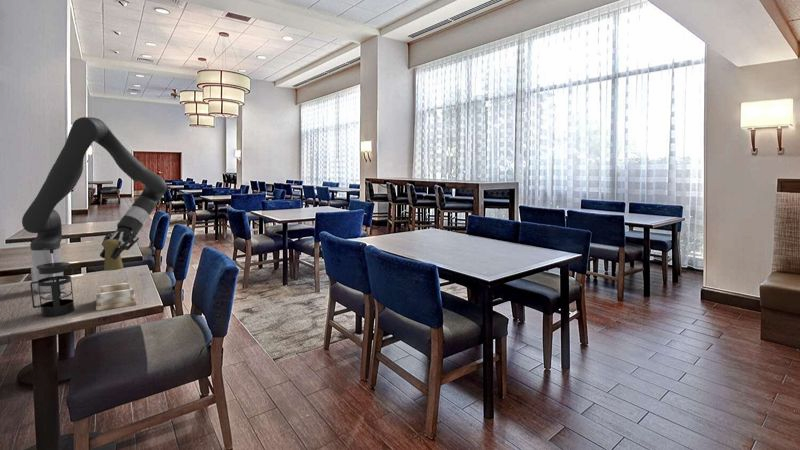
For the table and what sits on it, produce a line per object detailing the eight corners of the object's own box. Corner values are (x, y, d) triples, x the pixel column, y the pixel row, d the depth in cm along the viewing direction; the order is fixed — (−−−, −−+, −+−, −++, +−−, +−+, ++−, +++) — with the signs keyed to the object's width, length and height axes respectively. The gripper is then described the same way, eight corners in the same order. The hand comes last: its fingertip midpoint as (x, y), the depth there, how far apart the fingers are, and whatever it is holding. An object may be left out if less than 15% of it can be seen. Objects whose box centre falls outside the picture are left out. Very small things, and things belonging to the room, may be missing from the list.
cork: (113, 270, 153) (110, 241, 151) (99, 270, 154) (96, 240, 152) (127, 266, 159) (124, 238, 157) (114, 266, 160) (111, 237, 158)
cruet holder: (96, 310, 149) (94, 295, 148) (97, 300, 160) (95, 286, 160) (136, 304, 156) (134, 290, 155) (134, 294, 167) (133, 281, 166)
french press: (77, 305, 154) (71, 243, 151) (77, 313, 147) (70, 248, 143) (35, 312, 147) (27, 247, 144) (32, 320, 140) (24, 252, 136)
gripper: (112, 213, 162) (84, 250, 153) (141, 215, 159) (115, 253, 149) (125, 225, 168) (100, 261, 159) (154, 227, 164) (130, 264, 155)
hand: (107, 257), depth 154 cm, fingers closed on cork, 4 cm apart
